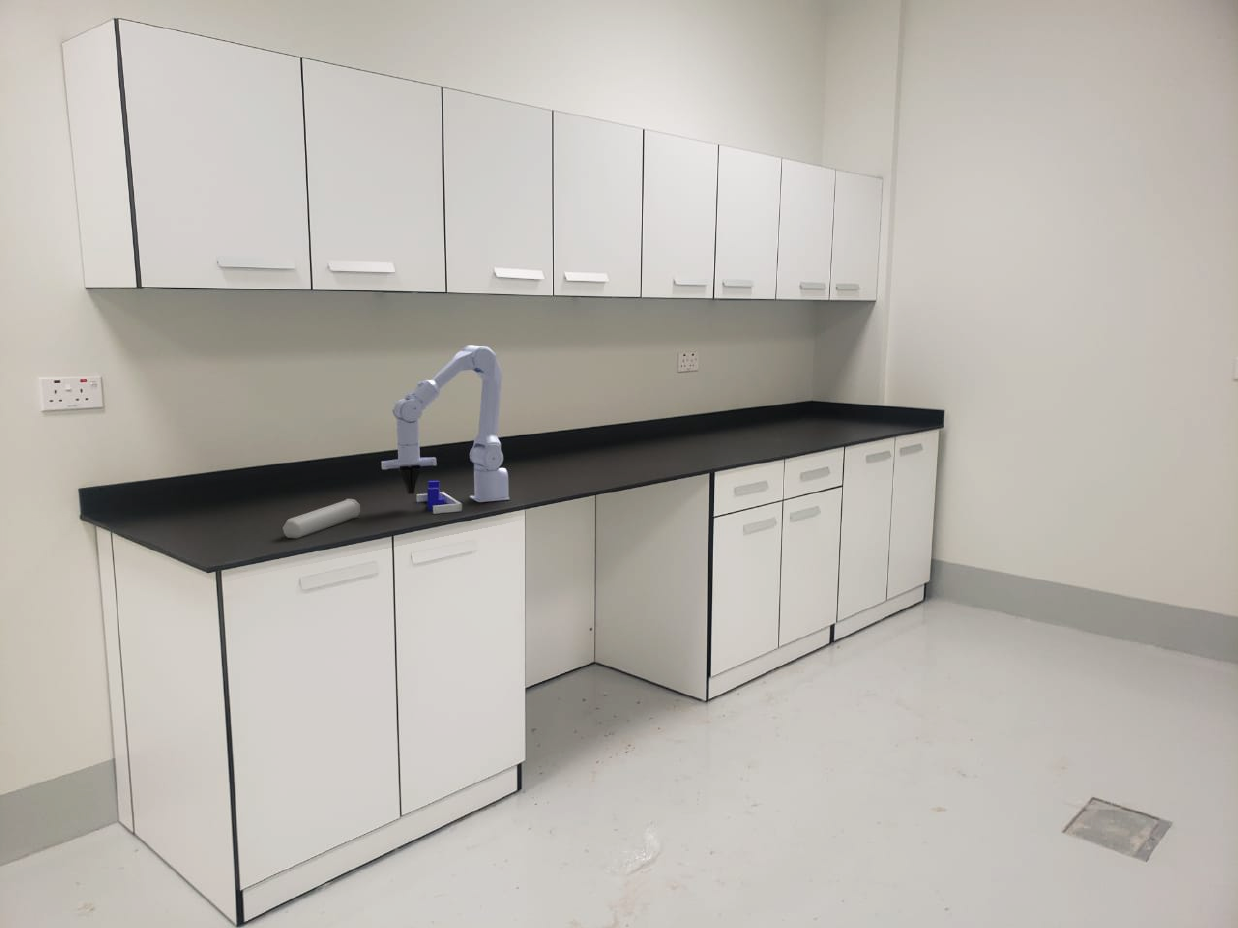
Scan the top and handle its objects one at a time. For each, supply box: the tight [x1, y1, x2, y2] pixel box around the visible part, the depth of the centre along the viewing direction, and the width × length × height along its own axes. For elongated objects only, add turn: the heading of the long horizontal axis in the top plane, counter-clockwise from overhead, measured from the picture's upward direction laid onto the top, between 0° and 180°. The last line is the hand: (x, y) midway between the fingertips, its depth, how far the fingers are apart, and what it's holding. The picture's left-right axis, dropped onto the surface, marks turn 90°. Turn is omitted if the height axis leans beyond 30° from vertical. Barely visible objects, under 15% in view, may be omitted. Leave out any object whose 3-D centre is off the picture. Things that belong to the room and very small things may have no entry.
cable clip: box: [426, 480, 446, 511], centre depth 245 cm, size 12×4×6 cm, turn 10°
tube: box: [282, 498, 361, 539], centre depth 219 cm, size 5×5×25 cm
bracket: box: [416, 491, 463, 515], centre depth 244 cm, size 8×18×2 cm, turn 28°
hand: (410, 493), depth 240 cm, fingers closed
